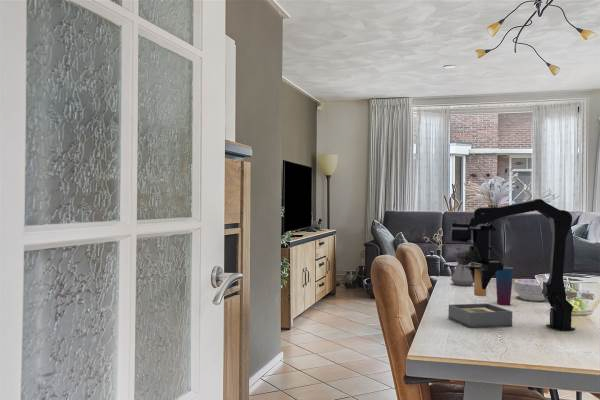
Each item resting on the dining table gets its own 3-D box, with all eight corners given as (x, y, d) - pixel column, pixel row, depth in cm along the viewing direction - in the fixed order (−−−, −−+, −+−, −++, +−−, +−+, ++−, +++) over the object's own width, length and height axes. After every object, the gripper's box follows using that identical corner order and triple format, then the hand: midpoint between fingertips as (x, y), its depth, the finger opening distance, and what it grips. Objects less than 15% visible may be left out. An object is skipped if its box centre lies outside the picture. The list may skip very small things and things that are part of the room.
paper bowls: (530, 303, 221) (530, 284, 221) (506, 296, 236) (506, 279, 236) (560, 302, 225) (560, 283, 225) (535, 295, 240) (535, 278, 240)
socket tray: (512, 326, 179) (512, 311, 179) (469, 328, 175) (470, 313, 175) (488, 317, 193) (488, 303, 193) (448, 318, 189) (448, 304, 189)
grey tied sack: (451, 282, 274) (452, 253, 274) (474, 284, 270) (475, 254, 270) (449, 289, 254) (449, 257, 254) (474, 290, 250) (475, 259, 250)
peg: (488, 296, 183) (489, 270, 183) (478, 296, 182) (478, 270, 182) (481, 294, 186) (482, 268, 186) (471, 294, 186) (472, 268, 186)
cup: (514, 306, 214) (514, 269, 214) (496, 305, 215) (497, 268, 215) (510, 303, 221) (511, 267, 221) (493, 302, 222) (494, 266, 222)
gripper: (446, 241, 191) (445, 284, 191) (475, 245, 173) (474, 293, 173) (474, 241, 194) (473, 283, 194) (505, 245, 176) (504, 292, 176)
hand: (480, 288), depth 184 cm, fingers closed on peg, 4 cm apart
